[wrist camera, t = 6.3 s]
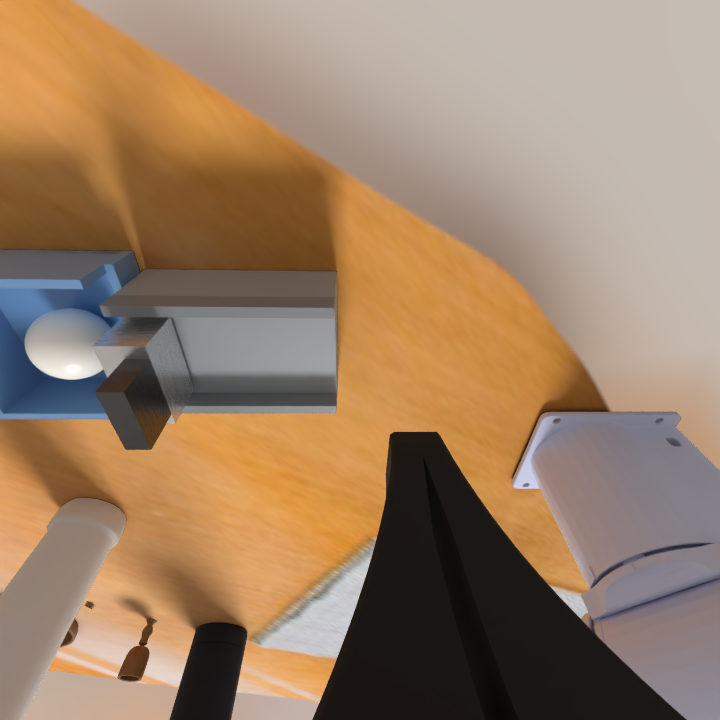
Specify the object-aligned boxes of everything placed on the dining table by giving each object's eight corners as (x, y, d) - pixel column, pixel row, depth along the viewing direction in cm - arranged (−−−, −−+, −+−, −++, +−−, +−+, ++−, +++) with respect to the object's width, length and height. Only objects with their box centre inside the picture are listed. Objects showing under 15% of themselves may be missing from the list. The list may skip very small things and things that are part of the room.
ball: (78, 289, 18) (115, 308, 17) (105, 346, 21) (140, 367, 19) (-6, 316, 16) (27, 340, 15) (33, 377, 18) (67, 404, 17)
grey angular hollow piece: (170, 316, 16) (117, 378, 12) (194, 389, 18) (156, 459, 15) (124, 316, 16) (57, 378, 12) (154, 389, 18) (105, 459, 15)
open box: (132, 251, 17) (89, 279, 14) (177, 377, 22) (151, 419, 19) (-35, 248, 17) (-112, 277, 14) (46, 377, 21) (-1, 419, 19)
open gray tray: (336, 271, 18) (333, 307, 15) (338, 366, 21) (336, 413, 18) (145, 269, 18) (99, 305, 14) (178, 366, 21) (147, 413, 18)
